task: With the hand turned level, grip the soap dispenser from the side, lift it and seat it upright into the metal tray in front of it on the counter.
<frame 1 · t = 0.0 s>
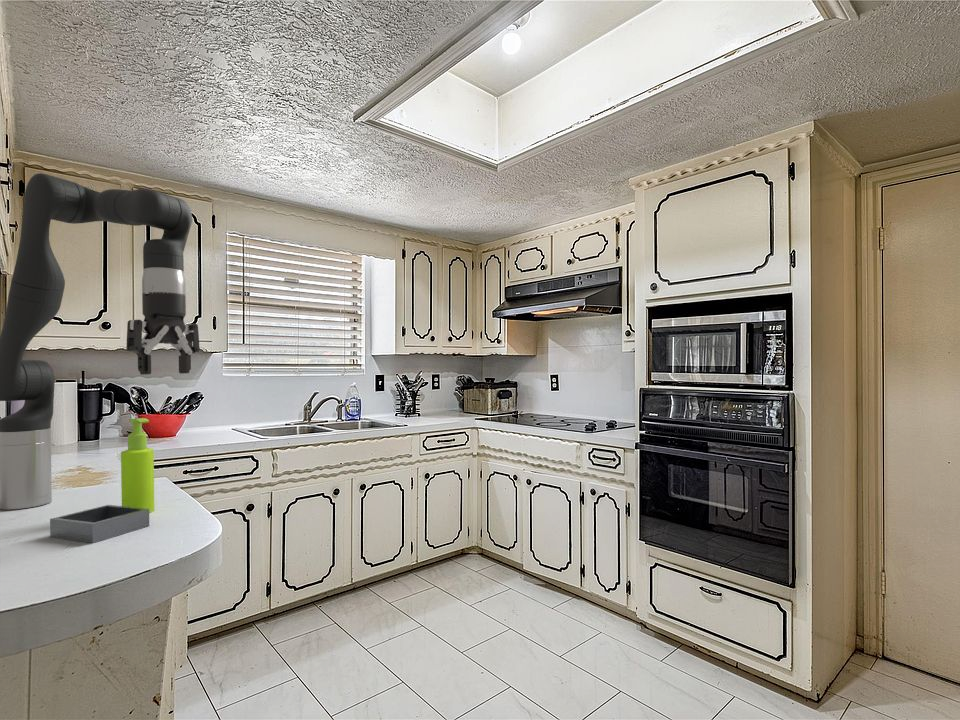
hand: (165, 373, 109), 29 cm above the countertop, tool pointing down, fingers open, 8 cm apart
metal tray: (101, 531, 102), on the countertop
soap dispenser: (139, 513, 115), on the countertop
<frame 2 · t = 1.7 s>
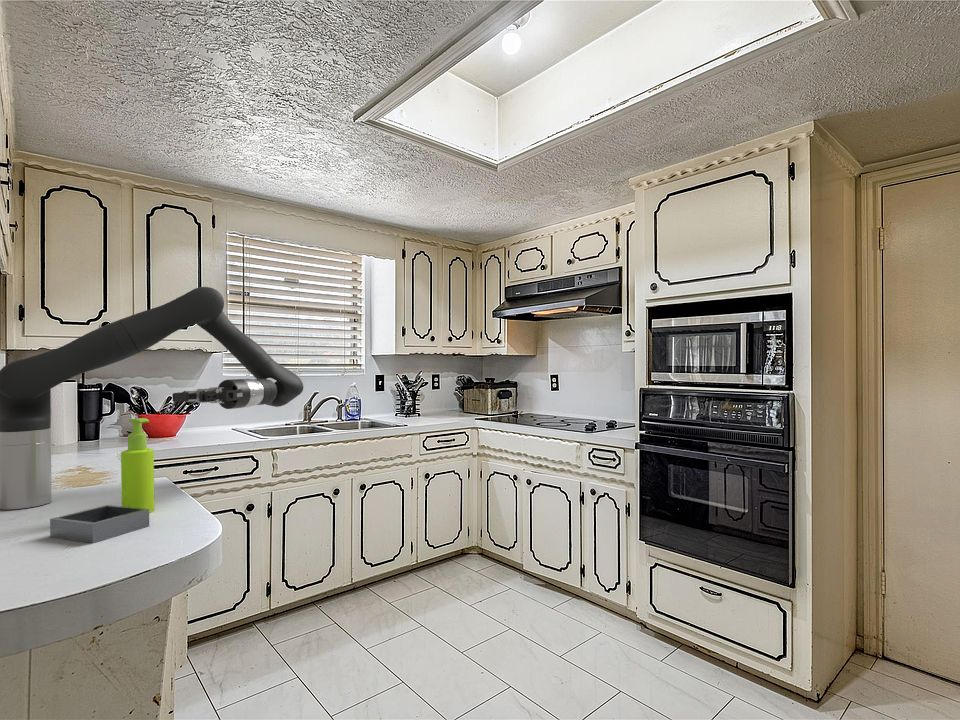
hand: (186, 397, 127), 24 cm above the countertop, tool horizontal, fingers open, 8 cm apart
nothing on the countertop moved.
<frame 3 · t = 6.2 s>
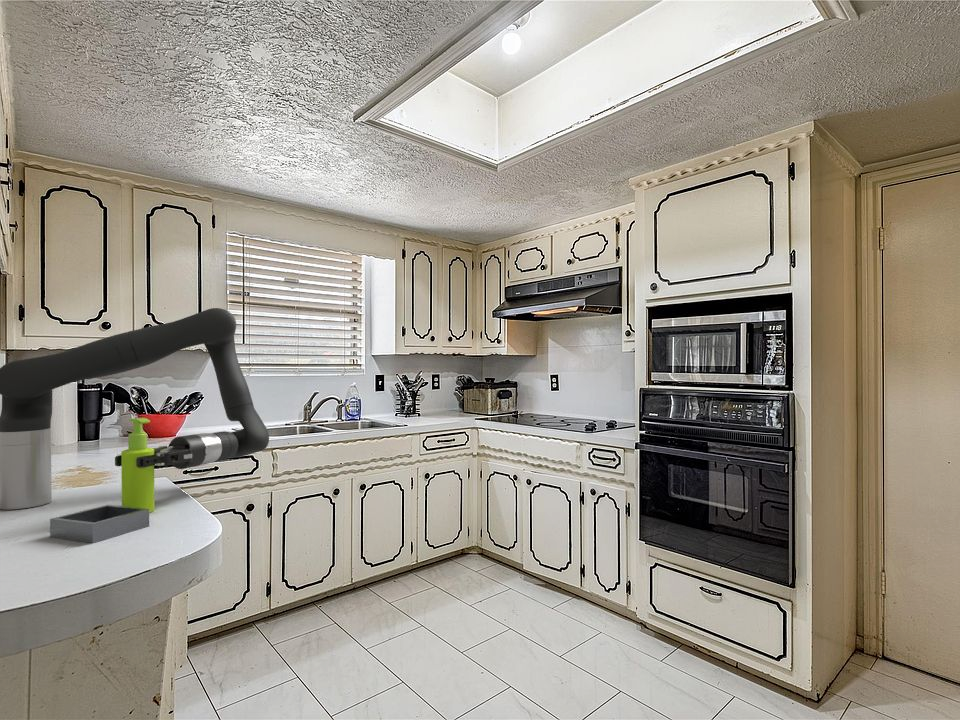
hand: (127, 462, 113), 11 cm above the countertop, tool horizontal, fingers closed on soap dispenser, 6 cm apart
soap dispenser: (139, 513, 115), on the countertop, touching gripper
when the fingers open (13 cm above the countertop, at t = 11.1 s): soap dispenser stays where it is, resting on metal tray.
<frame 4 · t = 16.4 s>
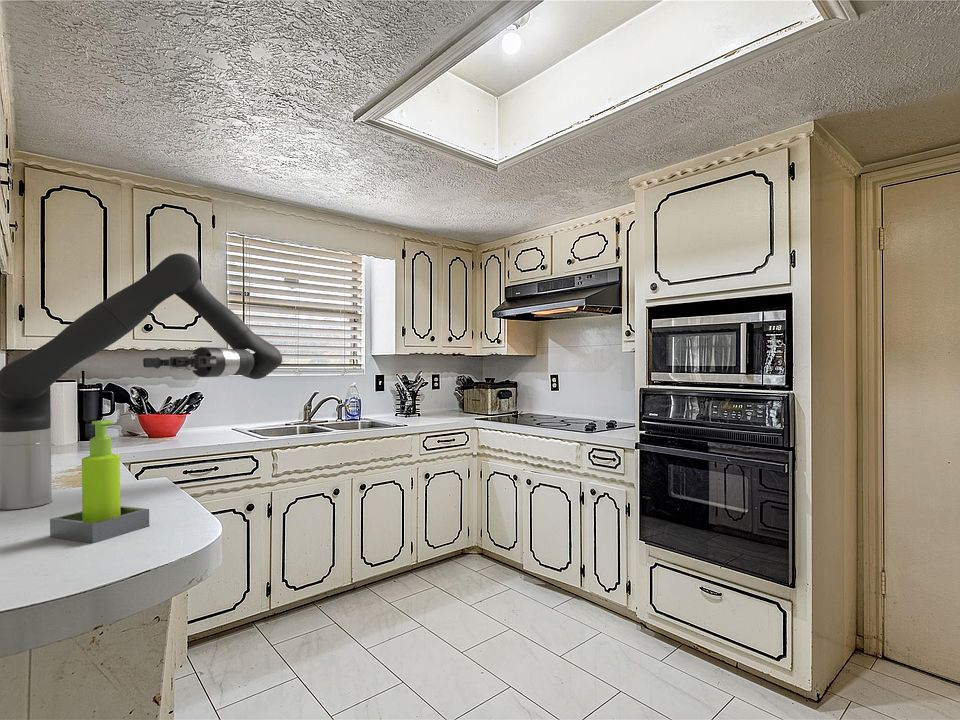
hand: (157, 362, 123), 32 cm above the countertop, tool horizontal, fingers open, 8 cm apart
soap dispenser: (103, 528, 102), point 1 cm above the countertop, touching metal tray
at the end: soap dispenser 0.3 cm off-centre on the metal tray, point 0.6 cm above the metal tray's base; soap dispenser tilted 0°; the gripper is holding nothing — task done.
